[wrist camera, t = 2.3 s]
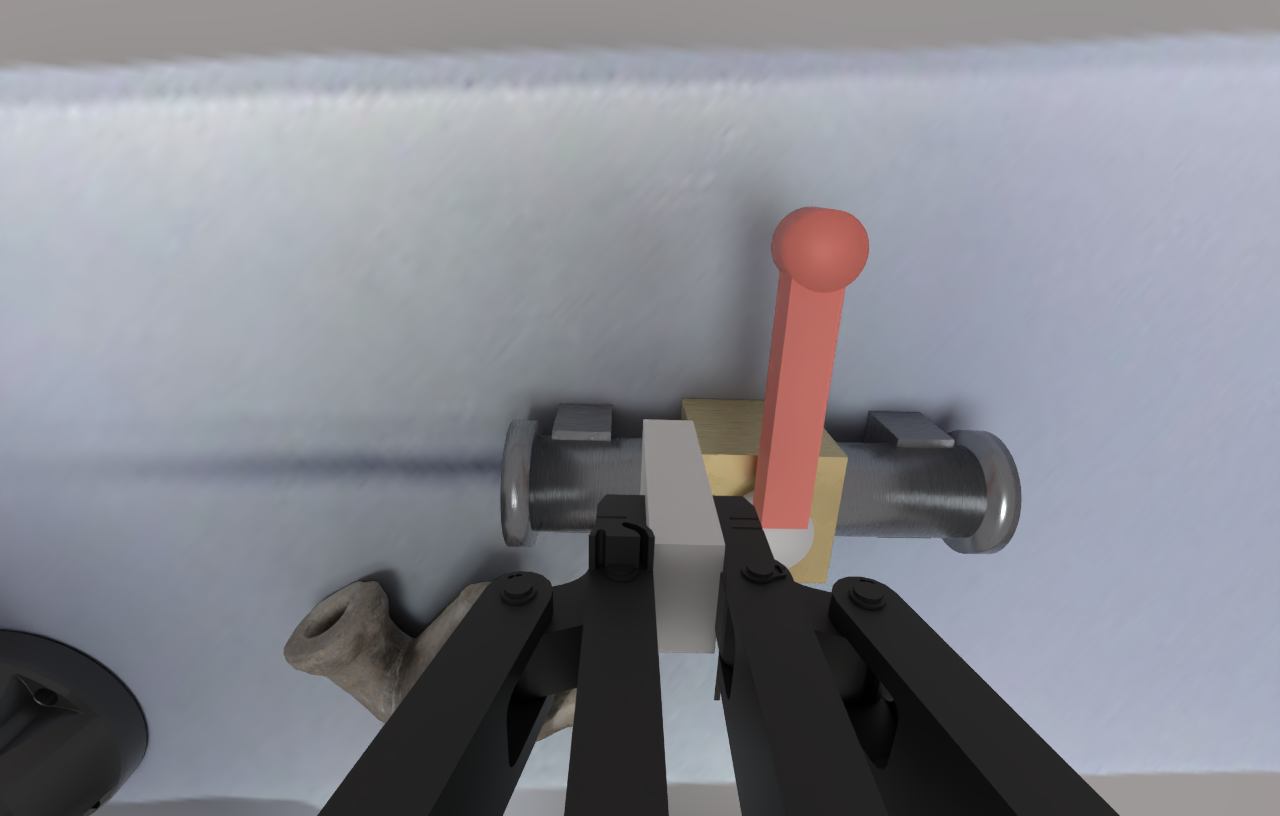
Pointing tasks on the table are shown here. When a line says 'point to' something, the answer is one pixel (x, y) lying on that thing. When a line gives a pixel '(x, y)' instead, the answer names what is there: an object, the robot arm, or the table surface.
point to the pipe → (385, 649)
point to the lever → (802, 368)
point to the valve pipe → (729, 442)
